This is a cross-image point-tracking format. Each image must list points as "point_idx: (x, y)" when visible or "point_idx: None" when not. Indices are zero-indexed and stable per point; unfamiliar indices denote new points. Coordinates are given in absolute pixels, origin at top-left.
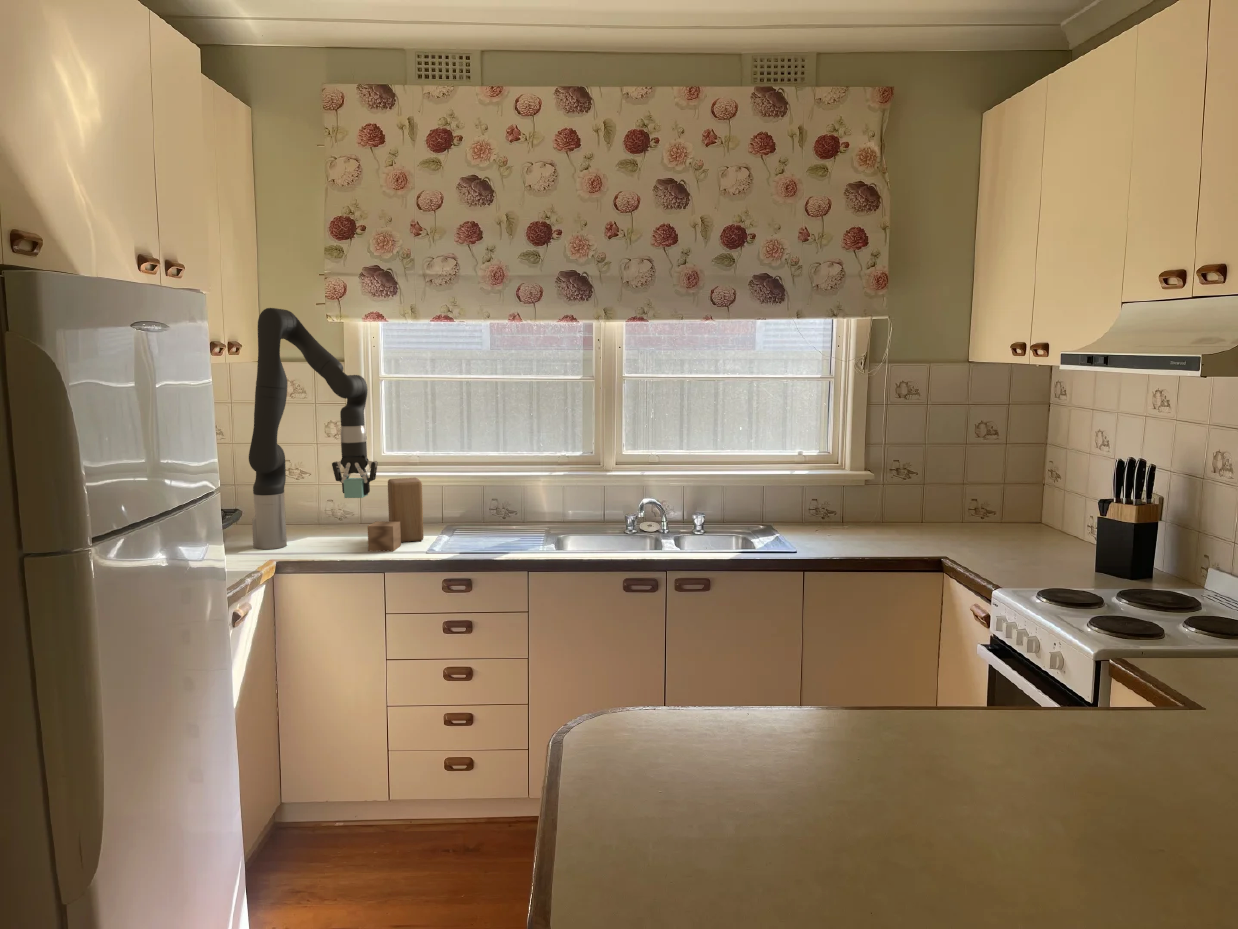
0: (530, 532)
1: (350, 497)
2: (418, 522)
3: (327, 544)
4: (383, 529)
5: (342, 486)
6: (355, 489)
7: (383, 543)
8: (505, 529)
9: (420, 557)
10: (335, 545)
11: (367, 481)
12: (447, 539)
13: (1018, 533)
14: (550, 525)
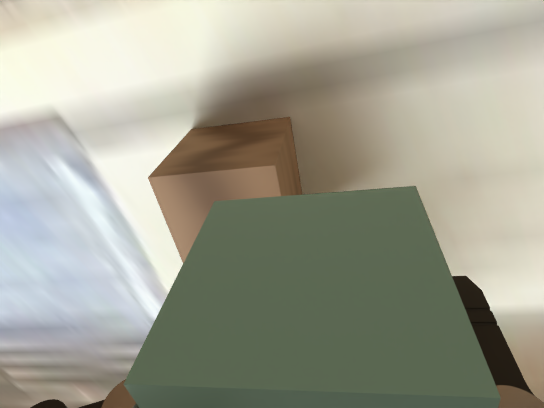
0: (17, 359)
1: (340, 194)
2: None
3: (514, 204)
4: (198, 165)
5: (504, 349)
6: (264, 259)
7: (219, 136)
8: (86, 380)
9: (27, 43)
10: (472, 192)
11: (109, 397)
12: (138, 296)
13: None
14: (33, 404)
